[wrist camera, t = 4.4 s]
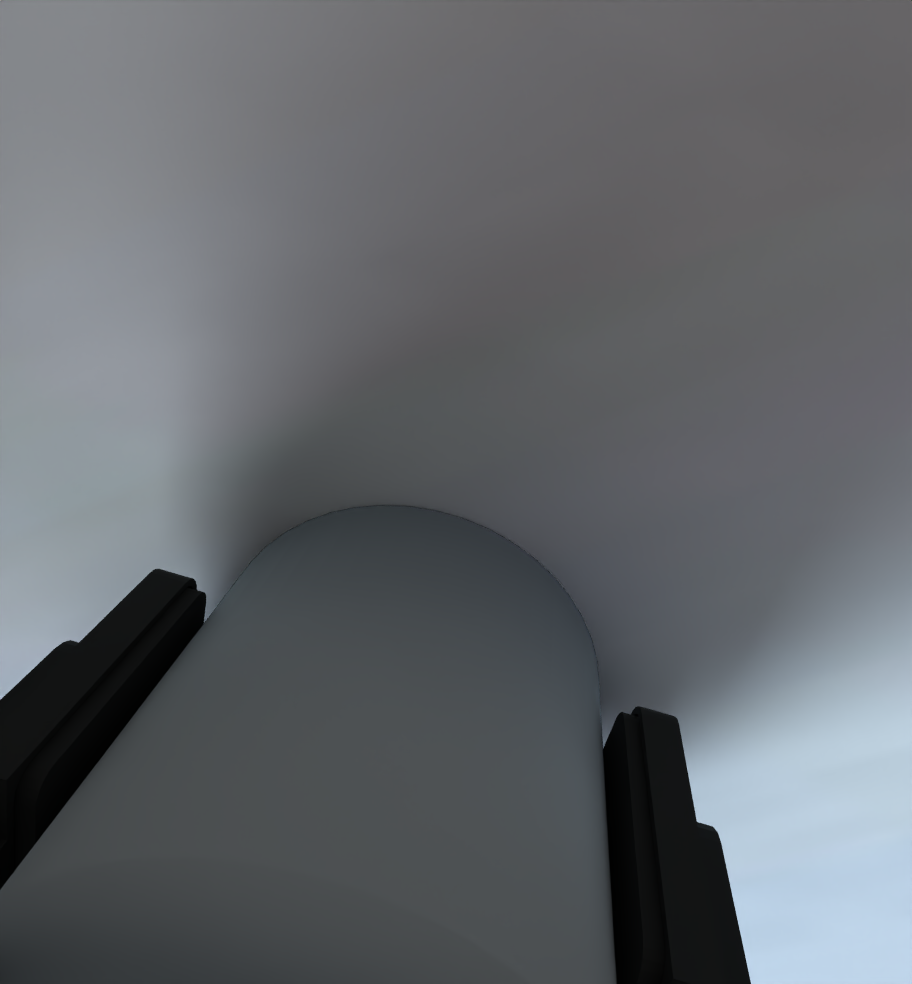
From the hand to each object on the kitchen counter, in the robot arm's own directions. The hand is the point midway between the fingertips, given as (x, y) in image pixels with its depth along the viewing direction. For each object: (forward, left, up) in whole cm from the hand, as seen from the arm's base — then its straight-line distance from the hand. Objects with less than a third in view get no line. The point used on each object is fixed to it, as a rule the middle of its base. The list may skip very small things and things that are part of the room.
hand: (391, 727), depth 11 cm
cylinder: (0, 0, -1) cm, 1 cm away
